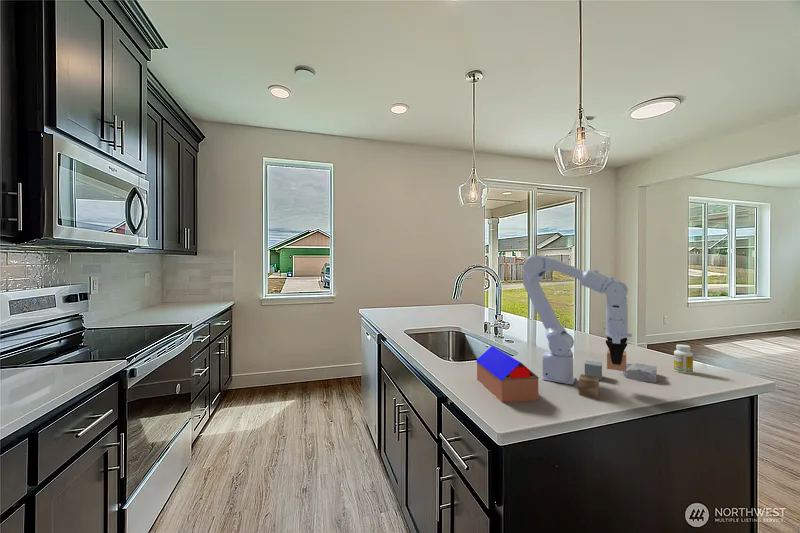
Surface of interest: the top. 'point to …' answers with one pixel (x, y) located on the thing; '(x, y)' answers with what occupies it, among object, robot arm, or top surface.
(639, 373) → the stone block
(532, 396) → the house
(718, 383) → the top surface
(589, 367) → the slate block
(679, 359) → the supplement bottle
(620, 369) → the terracotta block
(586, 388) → the walnut block
